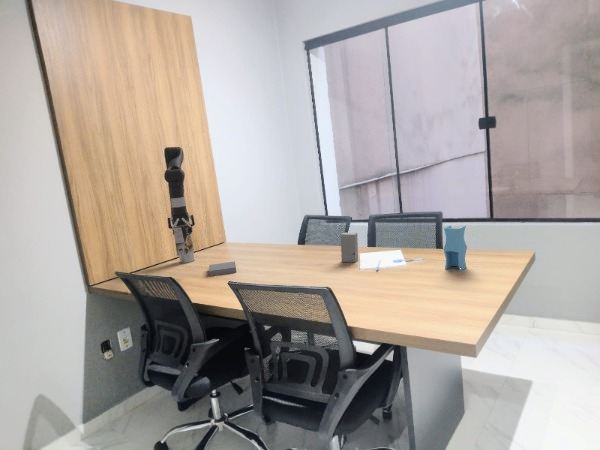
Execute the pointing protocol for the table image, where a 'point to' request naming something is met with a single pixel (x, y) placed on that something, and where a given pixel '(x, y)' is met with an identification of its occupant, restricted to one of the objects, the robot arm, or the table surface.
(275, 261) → the table surface
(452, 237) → the vase
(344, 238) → the skincare box
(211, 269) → the riser
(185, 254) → the coffee box
